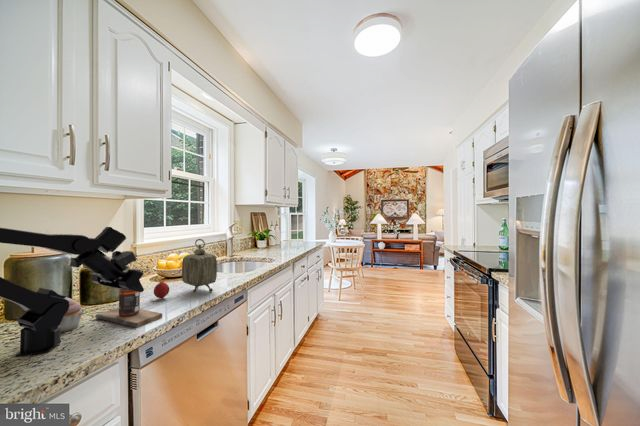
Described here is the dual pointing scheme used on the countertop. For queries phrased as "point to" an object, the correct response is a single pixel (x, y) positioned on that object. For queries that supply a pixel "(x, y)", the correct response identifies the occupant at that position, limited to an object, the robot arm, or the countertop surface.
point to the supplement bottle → (128, 302)
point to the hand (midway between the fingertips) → (134, 289)
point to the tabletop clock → (199, 268)
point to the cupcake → (71, 316)
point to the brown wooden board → (130, 317)
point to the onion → (161, 290)
